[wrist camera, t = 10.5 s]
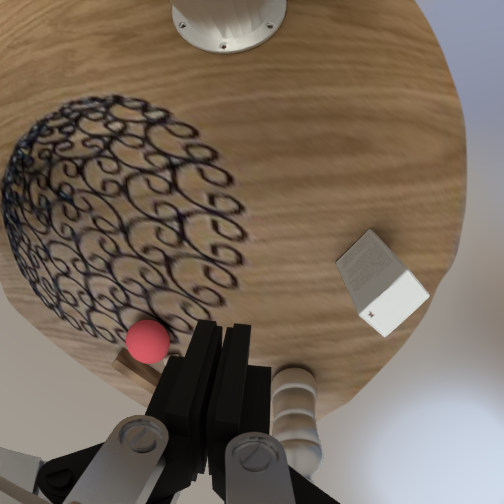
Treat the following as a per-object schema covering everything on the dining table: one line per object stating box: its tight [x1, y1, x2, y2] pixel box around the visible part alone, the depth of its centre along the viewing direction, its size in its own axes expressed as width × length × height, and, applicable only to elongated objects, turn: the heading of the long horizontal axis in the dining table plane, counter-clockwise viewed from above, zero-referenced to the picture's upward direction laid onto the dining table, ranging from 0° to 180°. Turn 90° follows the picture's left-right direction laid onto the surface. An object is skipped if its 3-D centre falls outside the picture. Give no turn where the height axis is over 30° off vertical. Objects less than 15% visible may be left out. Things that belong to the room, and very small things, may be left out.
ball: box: [126, 320, 170, 364], centre depth 40 cm, size 6×6×6 cm
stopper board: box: [112, 348, 162, 394], centre depth 45 cm, size 16×2×3 cm, turn 51°
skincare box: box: [336, 229, 430, 337], centre depth 32 cm, size 6×4×12 cm
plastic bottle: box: [271, 368, 323, 484], centre depth 35 cm, size 6×7×20 cm
